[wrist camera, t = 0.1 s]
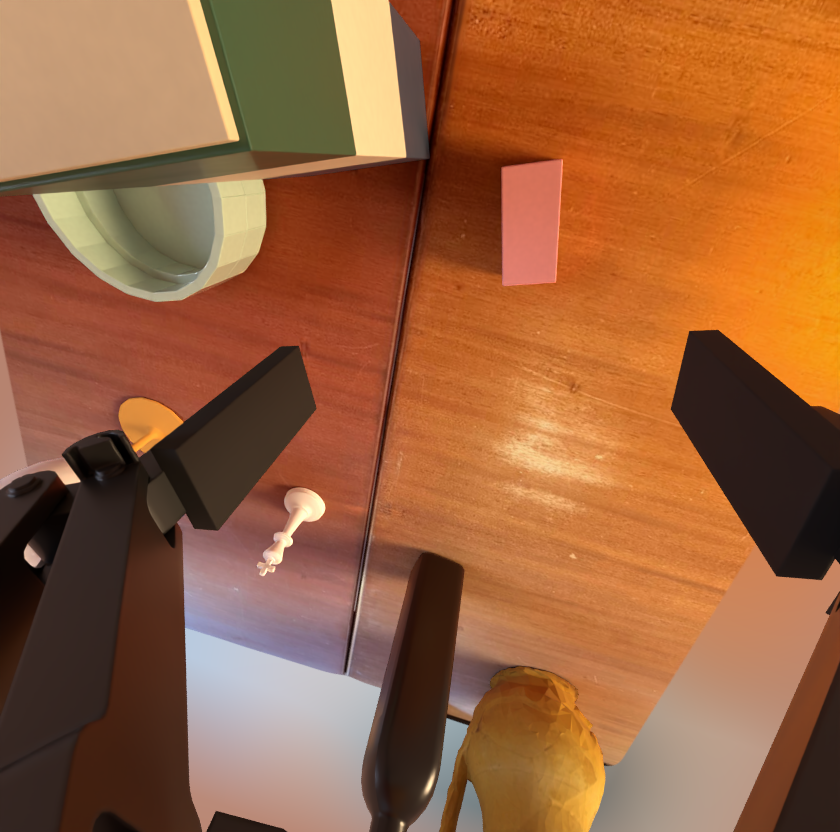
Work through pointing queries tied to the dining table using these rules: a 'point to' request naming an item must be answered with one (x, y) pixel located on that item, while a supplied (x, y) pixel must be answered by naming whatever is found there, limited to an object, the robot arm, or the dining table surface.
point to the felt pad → (106, 83)
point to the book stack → (290, 99)
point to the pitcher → (529, 758)
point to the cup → (139, 423)
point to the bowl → (162, 234)
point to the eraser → (530, 222)
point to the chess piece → (292, 523)
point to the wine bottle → (414, 698)
